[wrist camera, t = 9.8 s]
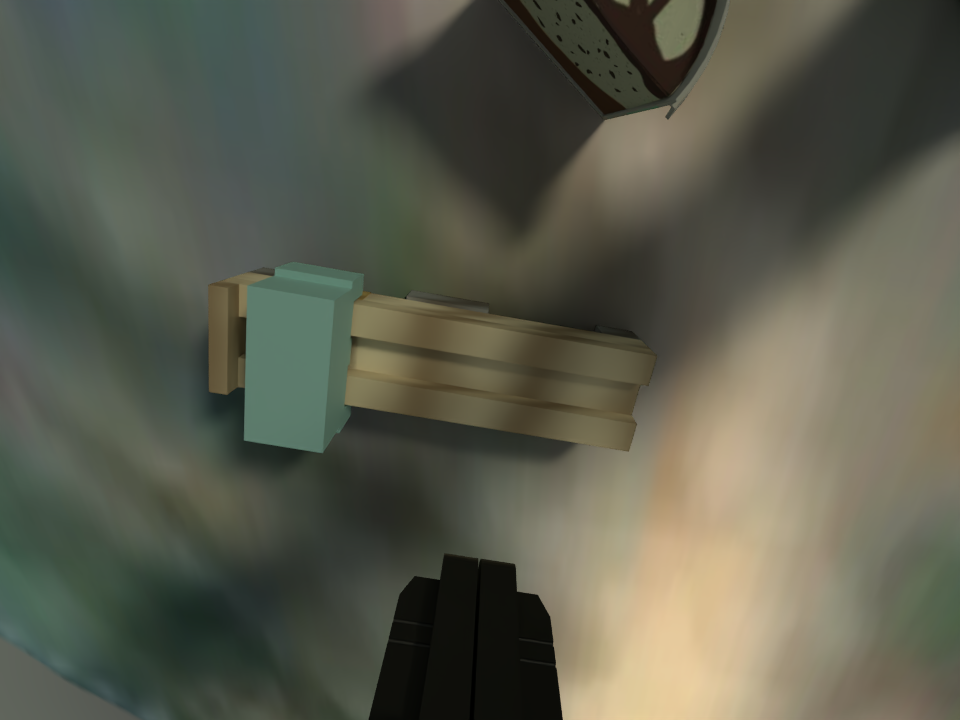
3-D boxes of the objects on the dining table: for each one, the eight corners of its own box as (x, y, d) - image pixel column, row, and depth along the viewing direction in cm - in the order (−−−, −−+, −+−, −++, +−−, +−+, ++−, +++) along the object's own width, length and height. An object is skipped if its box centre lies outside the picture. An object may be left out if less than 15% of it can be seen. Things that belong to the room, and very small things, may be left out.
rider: (364, 274, 28) (335, 292, 23) (350, 415, 30) (322, 459, 25) (292, 261, 28) (247, 276, 22) (285, 404, 30) (243, 447, 25)
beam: (632, 328, 32) (665, 359, 26) (608, 417, 34) (633, 465, 28) (263, 264, 31) (208, 280, 25) (260, 358, 33) (208, 395, 27)
